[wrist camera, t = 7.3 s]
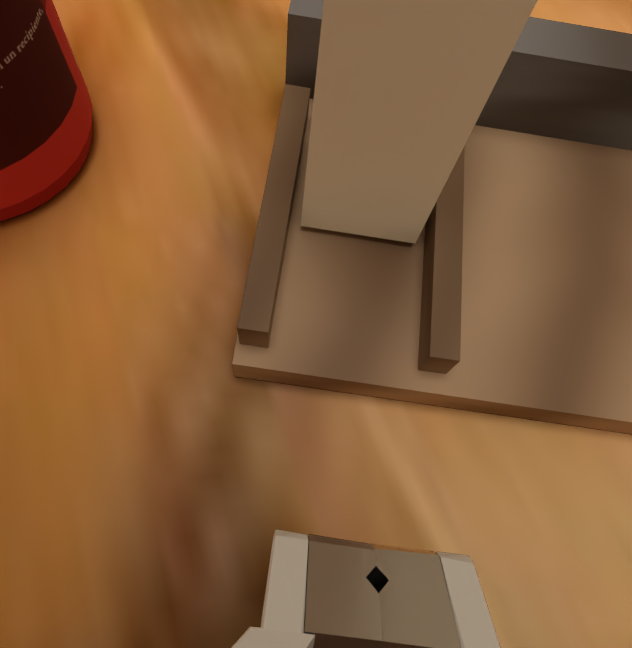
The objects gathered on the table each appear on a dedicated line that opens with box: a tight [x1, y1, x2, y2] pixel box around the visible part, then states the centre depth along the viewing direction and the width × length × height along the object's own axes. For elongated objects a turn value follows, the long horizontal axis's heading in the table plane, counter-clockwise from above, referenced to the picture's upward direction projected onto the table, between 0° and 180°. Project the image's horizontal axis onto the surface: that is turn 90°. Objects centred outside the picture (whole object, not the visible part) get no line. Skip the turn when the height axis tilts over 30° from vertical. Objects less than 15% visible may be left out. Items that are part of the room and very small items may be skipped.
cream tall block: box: [301, 0, 537, 243], centre depth 11 cm, size 4×4×11 cm
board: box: [232, 0, 632, 434], centre depth 16 cm, size 20×12×4 cm, turn 83°
